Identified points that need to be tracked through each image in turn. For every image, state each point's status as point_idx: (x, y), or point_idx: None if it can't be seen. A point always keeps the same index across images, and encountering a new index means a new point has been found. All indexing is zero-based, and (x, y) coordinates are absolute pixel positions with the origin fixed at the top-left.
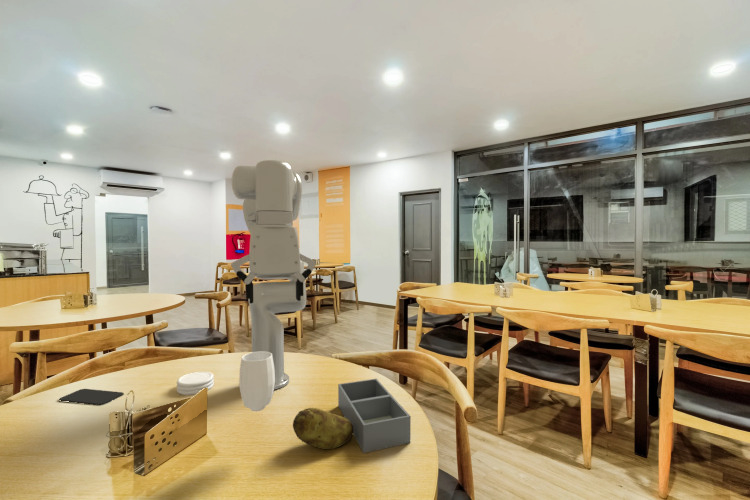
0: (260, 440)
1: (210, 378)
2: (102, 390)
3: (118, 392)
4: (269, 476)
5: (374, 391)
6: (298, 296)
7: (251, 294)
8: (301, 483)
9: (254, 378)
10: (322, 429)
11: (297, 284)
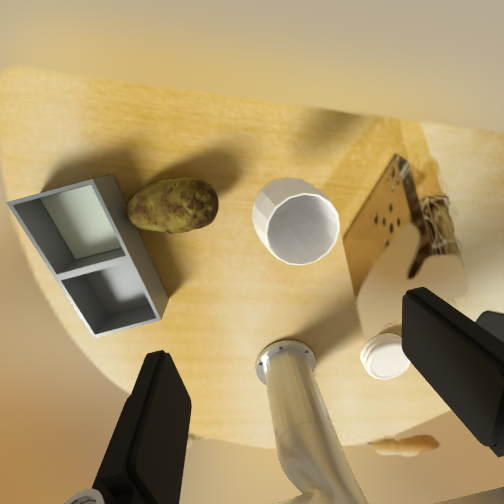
0: None
1: (369, 360)
2: None
3: None
4: (240, 133)
5: (106, 320)
6: (153, 367)
7: (450, 317)
8: (193, 112)
9: (292, 180)
10: (167, 185)
11: (135, 454)
